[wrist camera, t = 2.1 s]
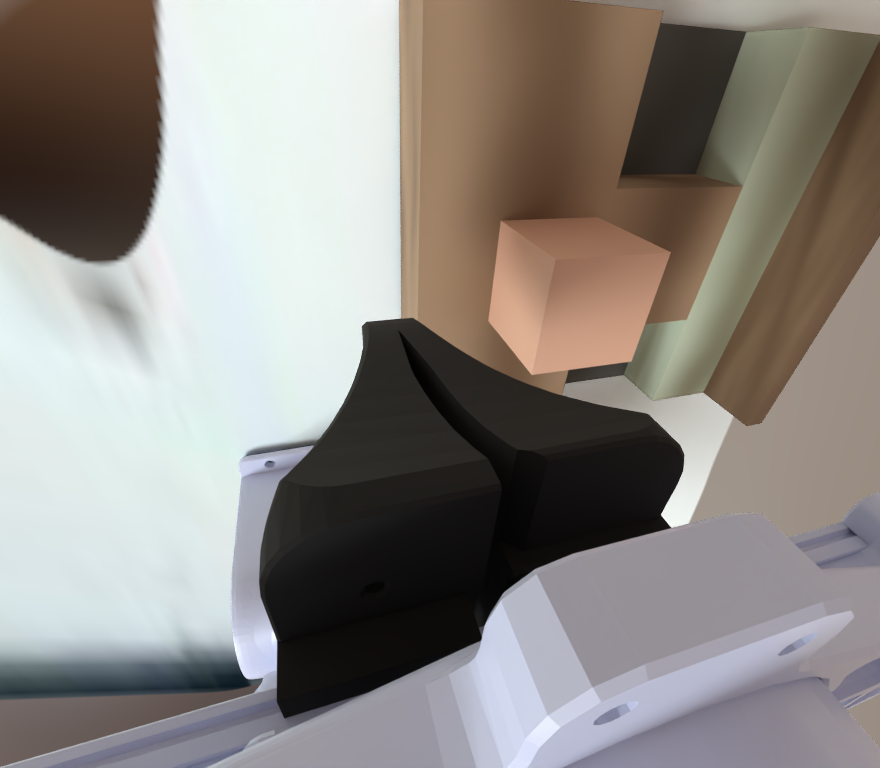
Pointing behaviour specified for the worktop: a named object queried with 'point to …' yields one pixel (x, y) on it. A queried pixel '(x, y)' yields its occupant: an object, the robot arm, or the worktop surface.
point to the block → (572, 291)
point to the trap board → (641, 177)
